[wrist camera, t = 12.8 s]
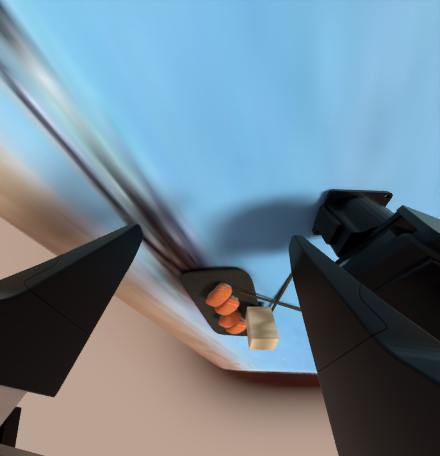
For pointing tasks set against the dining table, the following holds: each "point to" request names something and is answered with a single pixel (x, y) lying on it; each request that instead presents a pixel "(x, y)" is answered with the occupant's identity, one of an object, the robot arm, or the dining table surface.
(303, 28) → the dining table surface
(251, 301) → the sushi plate
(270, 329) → the birch block
